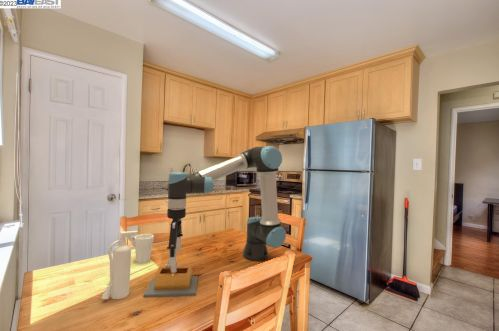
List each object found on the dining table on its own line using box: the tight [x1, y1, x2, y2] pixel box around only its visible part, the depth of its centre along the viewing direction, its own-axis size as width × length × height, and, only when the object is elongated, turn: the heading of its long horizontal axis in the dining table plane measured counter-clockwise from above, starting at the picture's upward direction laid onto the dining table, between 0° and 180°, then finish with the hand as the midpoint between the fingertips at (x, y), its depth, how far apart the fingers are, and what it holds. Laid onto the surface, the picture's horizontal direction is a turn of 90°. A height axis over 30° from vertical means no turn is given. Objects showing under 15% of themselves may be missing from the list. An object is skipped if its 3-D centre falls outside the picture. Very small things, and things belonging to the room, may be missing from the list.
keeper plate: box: [143, 275, 199, 298], centre depth 101 cm, size 20×14×1 cm
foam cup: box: [133, 233, 155, 264], centre depth 125 cm, size 10×9×13 cm
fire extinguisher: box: [101, 230, 139, 300], centre depth 92 cm, size 7×12×25 cm, turn 144°
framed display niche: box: [154, 266, 193, 290], centre depth 101 cm, size 14×8×6 cm, turn 99°
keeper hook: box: [164, 261, 178, 274], centre depth 100 cm, size 5×2×10 cm, turn 99°
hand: (175, 257), depth 101 cm, fingers open, 13 cm apart
